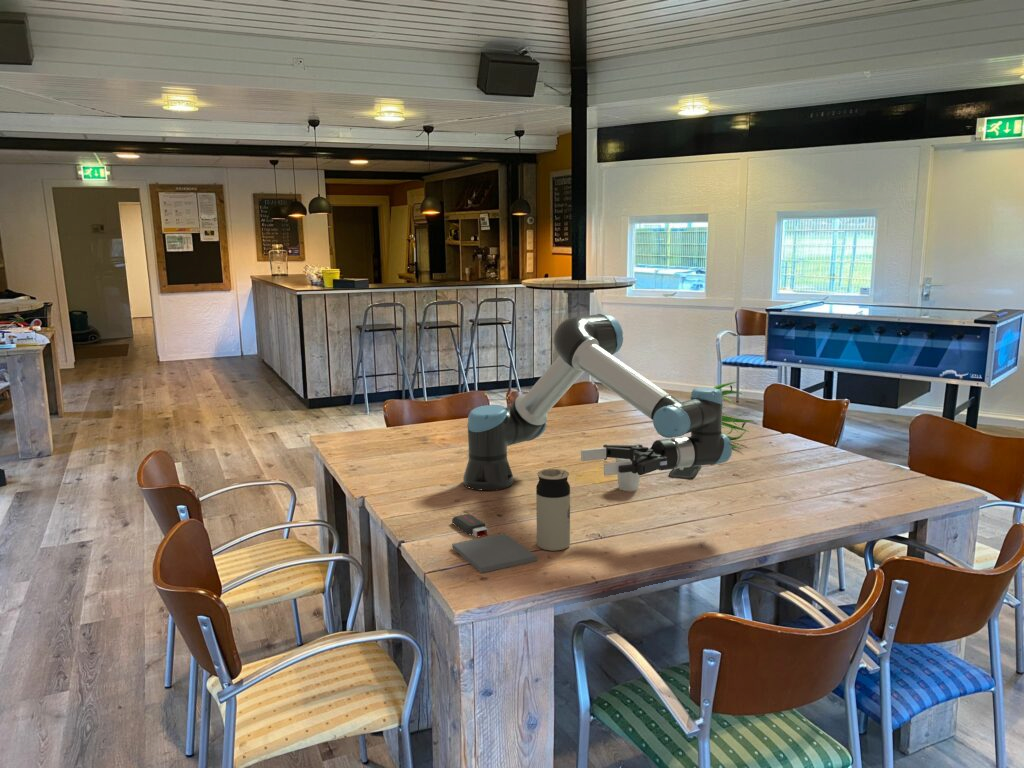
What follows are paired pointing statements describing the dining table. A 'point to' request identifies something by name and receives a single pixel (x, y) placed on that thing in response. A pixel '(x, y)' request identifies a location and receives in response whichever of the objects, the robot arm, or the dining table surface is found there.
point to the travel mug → (553, 510)
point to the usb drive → (470, 525)
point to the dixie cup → (627, 479)
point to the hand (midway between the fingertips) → (592, 462)
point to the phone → (685, 472)
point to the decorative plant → (729, 419)
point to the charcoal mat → (494, 552)
